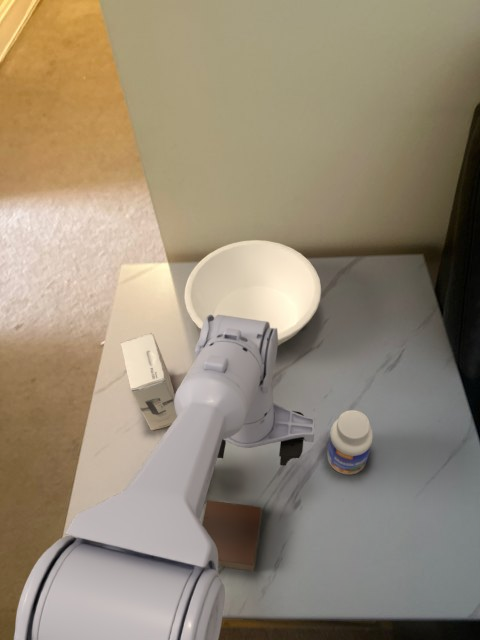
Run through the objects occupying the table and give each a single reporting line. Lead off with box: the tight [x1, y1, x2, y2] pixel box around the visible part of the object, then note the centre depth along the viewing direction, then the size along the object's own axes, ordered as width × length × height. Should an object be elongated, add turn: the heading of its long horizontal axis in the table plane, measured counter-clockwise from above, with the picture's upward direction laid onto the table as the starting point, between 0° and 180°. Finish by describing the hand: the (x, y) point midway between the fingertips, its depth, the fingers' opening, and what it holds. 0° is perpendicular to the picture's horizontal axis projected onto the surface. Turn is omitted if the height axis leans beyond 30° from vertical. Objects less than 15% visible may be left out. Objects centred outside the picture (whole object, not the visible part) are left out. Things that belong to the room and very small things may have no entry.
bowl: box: [184, 239, 322, 346], centre depth 90 cm, size 21×21×8 cm
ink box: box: [120, 332, 177, 431], centre depth 80 cm, size 9×5×12 cm, turn 17°
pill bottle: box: [326, 409, 374, 475], centre depth 74 cm, size 5×5×10 cm
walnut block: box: [201, 499, 263, 572], centre depth 71 cm, size 7×7×3 cm
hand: (252, 454), depth 69 cm, fingers open, 7 cm apart
